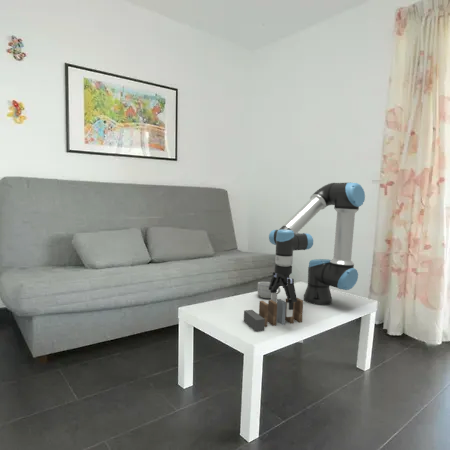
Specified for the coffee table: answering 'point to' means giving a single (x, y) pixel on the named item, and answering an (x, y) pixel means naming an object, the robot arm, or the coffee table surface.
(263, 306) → the domino
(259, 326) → the block
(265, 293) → the teacup
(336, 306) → the coffee table surface
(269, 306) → the domino
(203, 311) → the coffee table surface
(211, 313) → the coffee table surface
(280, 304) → the domino
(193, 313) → the coffee table surface
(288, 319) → the domino
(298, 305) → the domino
